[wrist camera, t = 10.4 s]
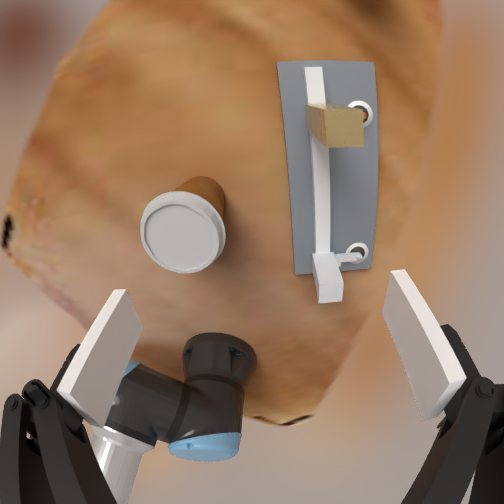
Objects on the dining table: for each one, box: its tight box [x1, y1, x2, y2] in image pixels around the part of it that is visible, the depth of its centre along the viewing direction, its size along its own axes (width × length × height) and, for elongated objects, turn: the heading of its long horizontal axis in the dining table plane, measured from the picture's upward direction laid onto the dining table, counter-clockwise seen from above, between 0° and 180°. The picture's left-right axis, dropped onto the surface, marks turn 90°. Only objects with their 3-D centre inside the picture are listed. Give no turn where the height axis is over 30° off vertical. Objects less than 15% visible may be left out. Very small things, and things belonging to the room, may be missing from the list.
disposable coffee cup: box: [140, 176, 226, 273], centre depth 34 cm, size 10×10×12 cm
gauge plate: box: [276, 60, 378, 303], centre depth 32 cm, size 30×12×10 cm, turn 7°
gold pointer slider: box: [305, 103, 367, 148], centre depth 24 cm, size 3×8×13 cm, turn 97°
